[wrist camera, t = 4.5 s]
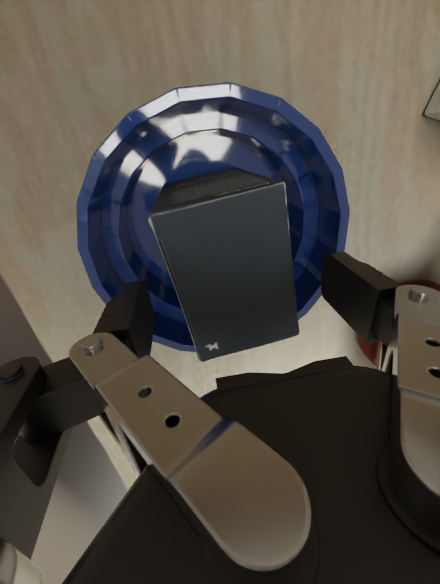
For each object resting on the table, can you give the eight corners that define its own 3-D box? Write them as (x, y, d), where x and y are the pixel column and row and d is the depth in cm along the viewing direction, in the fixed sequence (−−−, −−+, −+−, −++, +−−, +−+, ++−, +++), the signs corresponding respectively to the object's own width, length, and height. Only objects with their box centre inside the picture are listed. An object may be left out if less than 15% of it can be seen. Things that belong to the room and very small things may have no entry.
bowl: (135, 322, 25) (123, 369, 20) (70, 116, 17) (22, 102, 12) (302, 296, 26) (333, 333, 21) (314, 90, 18) (369, 68, 13)
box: (253, 261, 23) (302, 338, 14) (189, 278, 23) (196, 365, 14) (237, 163, 19) (289, 178, 10) (160, 183, 19) (143, 216, 10)
